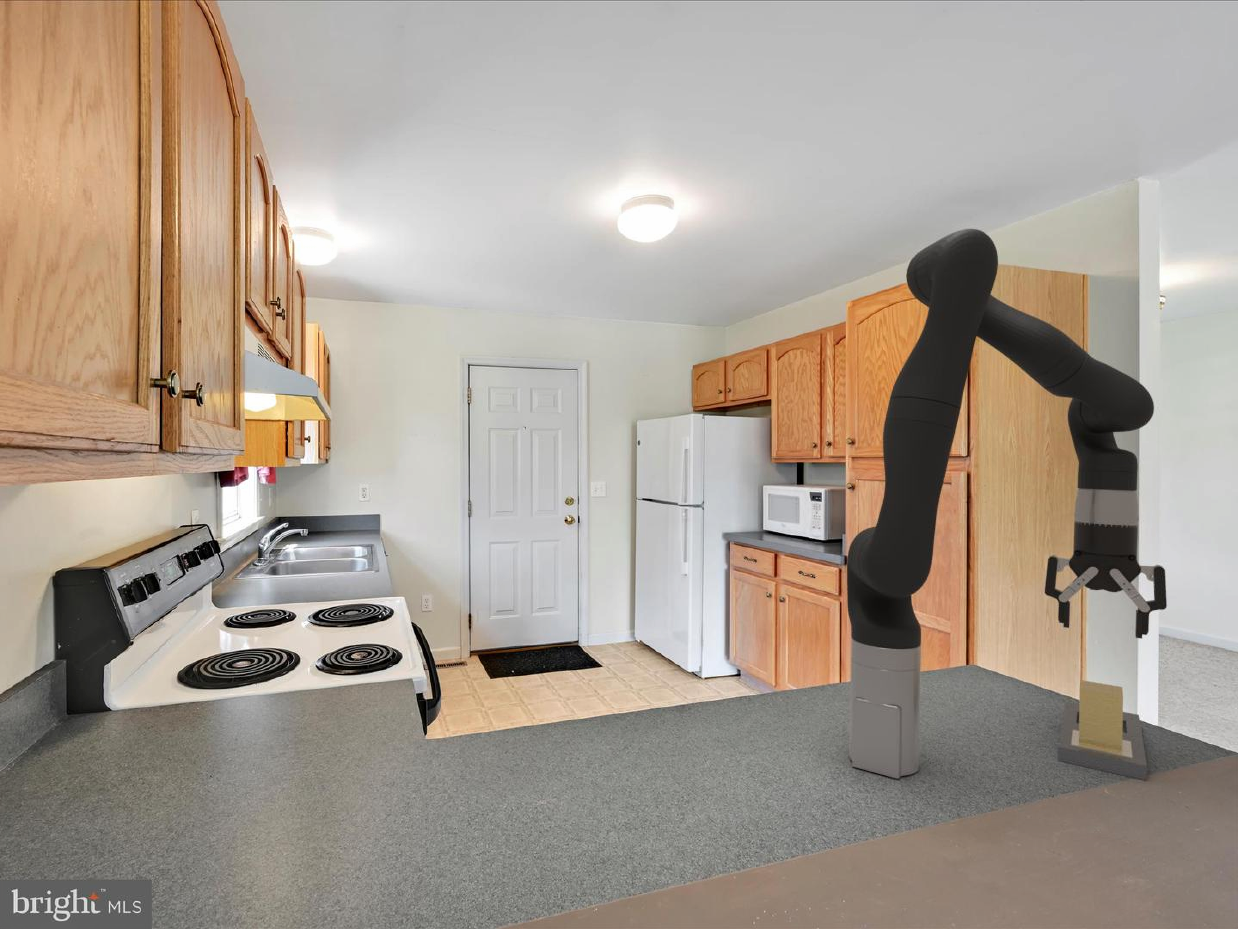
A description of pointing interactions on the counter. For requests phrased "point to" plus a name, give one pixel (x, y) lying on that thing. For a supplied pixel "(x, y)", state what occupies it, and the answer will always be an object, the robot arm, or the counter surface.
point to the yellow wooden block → (1101, 716)
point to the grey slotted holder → (1101, 759)
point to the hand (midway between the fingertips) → (1101, 632)
